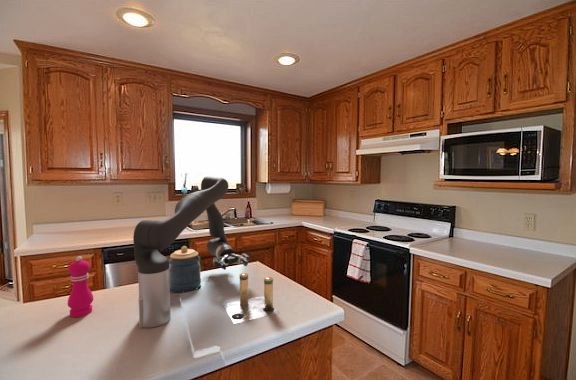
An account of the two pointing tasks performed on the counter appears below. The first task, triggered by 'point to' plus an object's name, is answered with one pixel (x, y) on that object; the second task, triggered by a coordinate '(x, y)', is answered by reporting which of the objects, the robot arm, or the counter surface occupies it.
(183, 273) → the canister
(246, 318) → the flange plate
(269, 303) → the fixed brass leg
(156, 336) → the counter surface
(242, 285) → the loose brass leg
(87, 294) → the pepper mill
